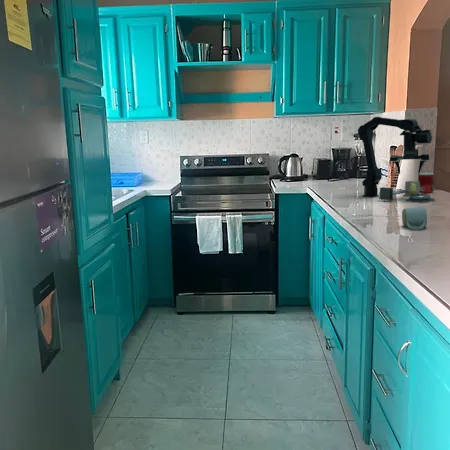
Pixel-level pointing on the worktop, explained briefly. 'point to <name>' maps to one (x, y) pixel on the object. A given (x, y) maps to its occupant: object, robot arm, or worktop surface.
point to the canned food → (426, 182)
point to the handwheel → (419, 195)
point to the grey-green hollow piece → (407, 187)
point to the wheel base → (420, 200)
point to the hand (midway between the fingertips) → (409, 174)
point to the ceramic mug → (414, 218)
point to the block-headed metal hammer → (389, 193)
